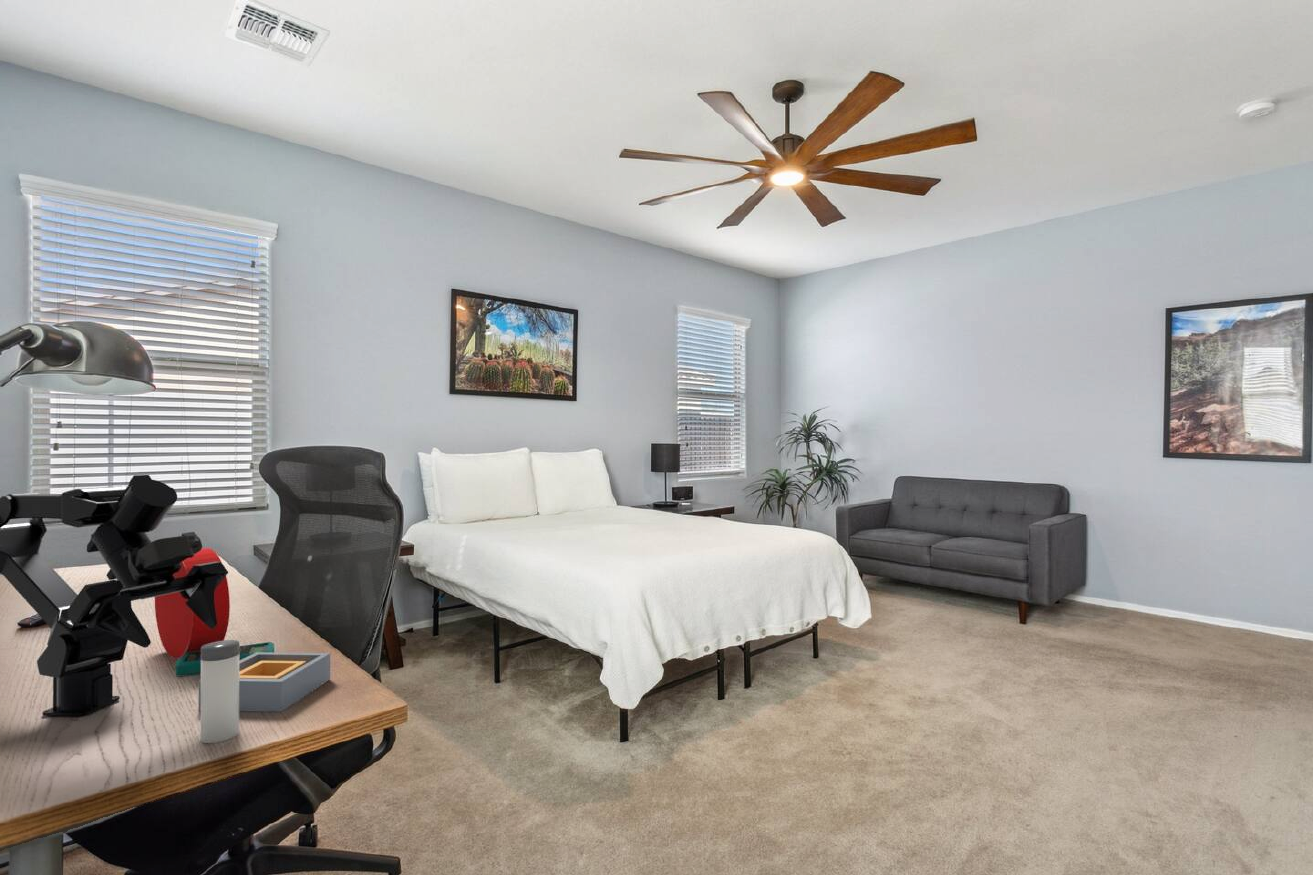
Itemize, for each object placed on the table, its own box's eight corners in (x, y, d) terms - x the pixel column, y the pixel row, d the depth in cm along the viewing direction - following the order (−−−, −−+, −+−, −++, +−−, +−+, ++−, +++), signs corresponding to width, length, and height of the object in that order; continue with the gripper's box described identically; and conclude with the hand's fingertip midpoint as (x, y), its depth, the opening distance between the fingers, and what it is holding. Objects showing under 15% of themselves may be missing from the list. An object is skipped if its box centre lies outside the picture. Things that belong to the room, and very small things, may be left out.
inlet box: (198, 710, 97) (198, 680, 97) (256, 678, 110) (256, 652, 110) (281, 711, 96) (281, 681, 96) (330, 679, 109) (330, 653, 109)
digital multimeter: (181, 666, 117) (181, 650, 117) (275, 654, 123) (275, 639, 123) (171, 680, 110) (171, 663, 110) (271, 666, 117) (271, 650, 117)
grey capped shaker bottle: (192, 742, 86) (192, 649, 86) (216, 728, 90) (216, 639, 90) (223, 743, 86) (224, 650, 86) (246, 728, 90) (246, 640, 90)
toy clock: (229, 660, 119) (230, 552, 119) (192, 669, 114) (193, 557, 115) (189, 640, 131) (189, 543, 131) (154, 648, 126) (154, 547, 126)
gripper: (81, 524, 84) (138, 615, 80) (219, 510, 101) (271, 584, 98) (43, 580, 86) (96, 671, 82) (184, 557, 104) (234, 631, 100)
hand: (182, 635), depth 91 cm, fingers open, 9 cm apart
